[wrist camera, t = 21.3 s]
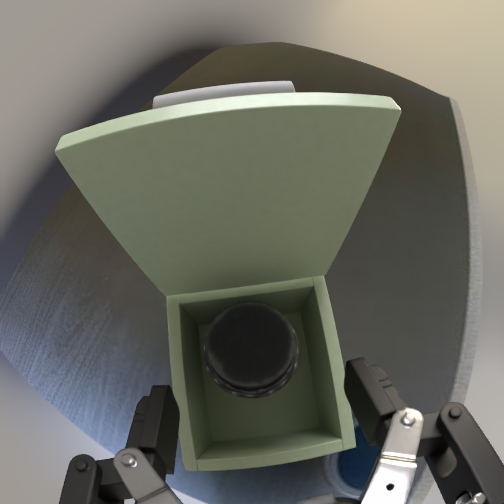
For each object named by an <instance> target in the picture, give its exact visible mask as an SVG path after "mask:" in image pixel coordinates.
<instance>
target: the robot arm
mask: <svg viewBox="0 0 504 504" xmlns="http://www.w3.org/2000/svg"><path fill="white" fill-rule="evenodd" d="M344 392H345V395H346V397H347V399H348V402H349V404H350V406H351V408H352V410H353V412H354V414H355V416H356V418H357V421H358V423H359V425H360V427H361V429H362V431H363V433H364V435H365V438H366V440H367V442H368V444H369V446H373V445H376V444H378V446H379V448H380V449H379V452H378V454H377V457H376V460H375V462H374V465H373V468H372V470H371V473H370V475H369V477H368V480H367V482H366V484H365V486H364V488H363V490H362V493H361V495H360V497H359V499H358V500H356V499H352V498H345V497H335V496H334V493H329V494H325V495H321V496H317V497H312V498H307V499H305V500H303V501H300V502H298V503H295V504H405V503H406V500H407V497H408V494H409V491H410V488H411V484H412V481H413V478H414V474H415V470H416V467H417V461H416V460H415V459H416V457H420V456H424V458H425V460H426V462H427V464H428V466H429V468H430V470H431V473H432V475H433V477H434V479H435V481H436V483H437V485H438V488H439V490H440V492H441V494H442V496H443V499H444V501H445V503H446V504H504V465H503V463H502V461H501V460H500V458H499V456H498V455H497V453H496V452H495V450H494V448H493V447H492V445H491V444H490V442H489V441H488V439H487V438H486V436H485V435H484V433H483V432H482V430H481V429H480V427H479V426H478V424H477V423H476V421H475V420H474V418H473V417H472V415H471V414H470V413H469V412H468V410H467V408H466V407H465V406H464V405H463V404H461V403H458V402H450V403H447V404H445V405H444V406H443V407H442V409H441V411H440V412H435V413H427V414H421V413H420V412H419V411H417V410H415V409H412V408H408V407H407V405H406V404H405V402H404V401H403V399H402V398H401V396H400V395H399V393H398V392H397V390H396V389H395V387H394V386H393V385H392V383H391V381H390V380H389V379H388V377H387V375H386V374H385V372H384V371H383V370H382V369H380V368H379V367H377V366H376V365H372V366H369V365H368V363H367V362H366V360H365V359H364V358H363V357H361V358H357V359H353V360H349V361H347V362H346V368H345V377H344ZM179 423H180V410H179V406H178V404H177V402H176V399H175V397H174V394H173V392H172V389H171V387H170V386H169V385H154V386H152V389H151V393H150V396H143V398H142V399H141V400H140V401H139V403H138V404H137V407H136V410H135V415H134V417H133V422H132V425H131V428H130V432H129V436H128V440H127V443H126V447H125V449H122V450H120V451H119V452H118V453H117V454H116V455H115V457H114V458H110V459H104V460H97V461H95V460H94V459H93V458H92V457H91V456H89V455H86V454H81V455H78V456H75V457H74V458H73V459H72V460H71V461H70V463H69V467H68V470H67V474H66V477H65V481H64V485H63V489H62V493H61V497H60V501H59V504H124V499H131V498H134V500H135V504H183V503H182V502H181V500H180V499H179V498H178V497H177V496H176V495H175V493H174V492H173V491H172V490H171V488H170V487H169V486H168V485H167V483H166V482H165V478H166V474H174V467H175V457H176V448H177V439H178V431H179Z"/></svg>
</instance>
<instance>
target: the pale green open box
mask: <svg viewBox="0 0 504 504" xmlns="http://www.w3.org/2000/svg"><path fill="white" fill-rule="evenodd" d="M248 301H254V302H261V303H264V304H267V305H269V306H271V307H273V308H275V309H277V310H278V311H279V312H280V313H281V314H282V315H283V316H284V317H285V318H286V319H287V320H288V322H289V323H290V324H291V326H292V327H293V328H294V330H295V332H296V335H297V338H298V341H299V349H300V352H299V354H300V355H299V363H298V365H297V368H296V370H295V373H294V374H293V376H292V377H291V379H290V380H289V382H288V383H287V384H286V385H285V386H284V387H282V388H281V389H280V390H278V391H276V392H275V393H273V394H271V395H268V396H265V397H260V398H242V397H238V396H235V395H232V394H229V393H228V392H226V391H224V390H223V389H221V388H220V387H219V386H218V385H217V384H216V383H215V382H214V381H213V380H212V378H211V377H210V375H209V374H208V372H207V370H206V368H205V365H204V361H203V351H202V350H203V343H204V339H205V336H206V333H207V331H208V329H209V327H210V325H211V323H212V322H213V320H214V319H215V317H216V316H217V315H218V314H219V313H220V312H222V311H223V310H224V309H226V308H227V307H229V306H232V305H234V304H237V303H240V302H248ZM167 316H168V335H169V350H170V363H171V374H172V384H173V394H174V397H175V399H176V402H177V404H178V406H179V410H180V423H179V431H178V433H179V440H180V446H181V452H182V458H183V464H184V469H185V471H218V470H235V469H246V468H256V467H264V466H271V465H278V464H284V463H290V462H296V461H301V460H306V459H311V458H315V457H320V456H324V455H328V454H332V453H336V452H340V451H343V450H347V449H350V448H354V447H356V442H355V435H354V428H353V421H352V414H351V408H350V404H349V402H348V399H347V397H346V395H345V392H344V377H345V372H344V367H343V362H342V356H341V351H340V346H339V341H338V337H337V332H336V327H335V322H334V318H333V313H332V309H331V304H330V300H329V296H328V291H327V287H326V283H325V279H324V275H322V276H316V277H309V278H302V279H296V280H289V281H282V282H275V283H268V284H260V285H253V286H245V287H238V288H230V289H222V290H214V291H205V292H197V293H188V294H179V295H170V296H167Z"/></svg>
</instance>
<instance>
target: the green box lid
mask: <svg viewBox="0 0 504 504" xmlns="http://www.w3.org/2000/svg"><path fill="white" fill-rule="evenodd" d="M400 114H401V109H400V108H399V106H398V105H397V104H396V103H395V102H394V100H393V99H392V98H391V97H384V96H374V95H362V94H346V93H295V89H294V86H293V84H292V82H291V81H271V82H254V83H241V84H231V85H222V86H214V87H207V88H200V89H193V90H187V91H181V92H176V93H171V94H166V95H161V96H156V97H155V98H154V100H153V110H149V111H145V112H140V113H136V114H132V115H129V116H124V117H121V118H117V119H114V120H110V121H107V122H103V123H100V124H96V125H94V126H90V127H87V128H84V129H81V130H78V131H75V132H72V133H69V134H67V135H64V136H62V137H61V139H60V141H59V143H58V145H57V147H56V150H55V154H56V155H57V157H58V158H59V160H60V162H61V163H62V164H63V166H64V167H65V169H66V171H67V172H68V174H69V175H70V177H71V178H72V179H73V181H74V182H75V184H76V185H77V187H78V188H79V190H80V191H81V192H82V194H83V195H84V197H85V198H86V199H87V201H88V202H89V204H90V205H91V206H92V208H93V209H94V210H95V212H96V213H97V214H98V216H99V217H100V218H101V220H102V221H103V222H104V224H105V225H106V226H107V228H108V229H109V230H110V231H111V233H112V234H113V235H114V236H115V238H116V239H117V240H118V242H119V243H120V244H121V245H122V246H123V248H124V249H125V250H126V251H127V253H128V254H129V255H130V256H131V257H132V259H133V260H134V261H135V262H136V263H137V265H138V266H139V267H140V268H141V269H142V271H143V272H144V273H145V274H146V275H147V276H148V278H149V279H150V280H151V281H152V282H153V283H154V284H155V286H156V287H157V288H158V289H159V290H160V291H161V292H162V293H163V294H164V296H170V295H179V294H188V293H197V292H205V291H214V290H222V289H230V288H238V287H245V286H253V285H260V284H268V283H275V282H282V281H289V280H296V279H302V278H309V277H316V276H322V275H326V273H327V271H328V270H329V268H330V266H331V264H332V262H333V260H334V258H335V256H336V255H337V253H338V251H339V249H340V247H341V245H342V243H343V241H344V239H345V237H346V235H347V233H348V231H349V229H350V227H351V225H352V223H353V221H354V219H355V217H356V215H357V213H358V211H359V209H360V207H361V205H362V202H363V200H364V198H365V196H366V194H367V192H368V190H369V187H370V185H371V183H372V181H373V179H374V176H375V174H376V172H377V170H378V167H379V165H380V163H381V160H382V158H383V156H384V153H385V151H386V149H387V146H388V144H389V141H390V139H391V137H392V134H393V132H394V129H395V127H396V124H397V122H398V119H399V116H400Z"/></svg>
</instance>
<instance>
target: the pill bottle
mask: <svg viewBox="0 0 504 504" xmlns="http://www.w3.org/2000/svg"><path fill="white" fill-rule="evenodd" d="M202 351H203V361H204V365H205V368H206V370H207V372H208V374H209V375H210V377H211V378H212V380H213V381H214V382H215V383H216V384H217V385H218V386H219V387H220V388H221V389H223V390H224V391H226V392H228V393H229V394H232V395H235V396H238V397H242V398H260V397H265V396H268V395H271V394H273V393H275V392H276V391H278V390H280V389H281V388H282V387H284V386H285V385H286V384H287V383H288V382H289V380H290V379H291V377H292V376H293V374H294V373H295V370H296V368H297V365H298V363H299V355H300V354H299V352H300V349H299V341H298V338H297V335H296V332H295V330H294V328H293V327H292V326H291V324H290V323H289V322H288V320H287V319H286V318H285V317H284V316H283V315H282V314H281V313H280V312H279V311H278V310H277V309H275V308H273V307H271V306H269V305H267V304H264V303H261V302H254V301H248V302H240V303H237V304H234V305H232V306H229V307H227V308H226V309H224V310H223V311H222V312H220V313H219V314H218V315H217V316H216V317H215V319H214V320H213V322H212V323H211V325H210V327H209V329H208V331H207V333H206V336H205V339H204V343H203V350H202Z"/></svg>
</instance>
